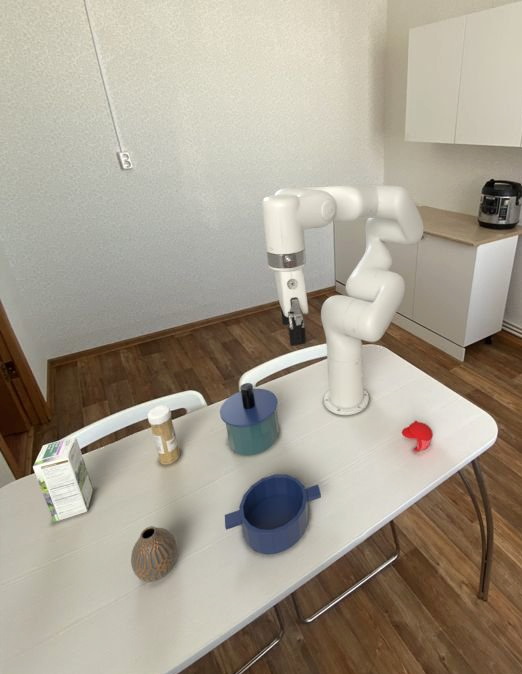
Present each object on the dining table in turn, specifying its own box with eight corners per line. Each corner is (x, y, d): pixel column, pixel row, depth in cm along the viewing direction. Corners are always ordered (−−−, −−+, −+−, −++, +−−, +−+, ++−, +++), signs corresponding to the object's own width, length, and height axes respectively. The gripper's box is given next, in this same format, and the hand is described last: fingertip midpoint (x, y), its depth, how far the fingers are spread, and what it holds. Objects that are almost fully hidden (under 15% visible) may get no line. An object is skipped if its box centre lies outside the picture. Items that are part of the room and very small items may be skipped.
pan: (226, 509, 77) (222, 489, 75) (313, 482, 82) (311, 462, 81) (230, 571, 66) (225, 549, 64) (329, 534, 72) (328, 513, 70)
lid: (219, 399, 96) (215, 377, 94) (273, 387, 100) (270, 365, 98) (221, 435, 84) (217, 411, 82) (282, 420, 89) (279, 396, 86)
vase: (134, 597, 62) (121, 561, 59) (138, 557, 68) (127, 522, 65) (180, 578, 65) (170, 543, 62) (180, 541, 71) (171, 507, 68)
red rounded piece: (419, 430, 96) (420, 410, 94) (437, 443, 92) (438, 423, 90) (396, 445, 92) (396, 425, 90) (414, 460, 87) (415, 440, 85)
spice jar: (182, 459, 89) (171, 412, 84) (160, 468, 86) (148, 421, 82) (178, 447, 92) (168, 401, 88) (158, 455, 90) (145, 409, 85)
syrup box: (62, 499, 79) (40, 444, 74) (95, 489, 82) (76, 435, 77) (53, 523, 75) (29, 466, 69) (89, 511, 77) (68, 456, 72)
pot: (247, 415, 102) (243, 387, 99) (287, 425, 99) (284, 396, 96) (218, 448, 92) (212, 418, 89) (261, 460, 88) (257, 429, 85)
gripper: (315, 268, 70) (320, 349, 76) (297, 245, 85) (302, 314, 91) (273, 274, 68) (282, 357, 74) (262, 248, 83) (270, 319, 89)
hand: (293, 333), depth 83 cm, fingers open, 9 cm apart
